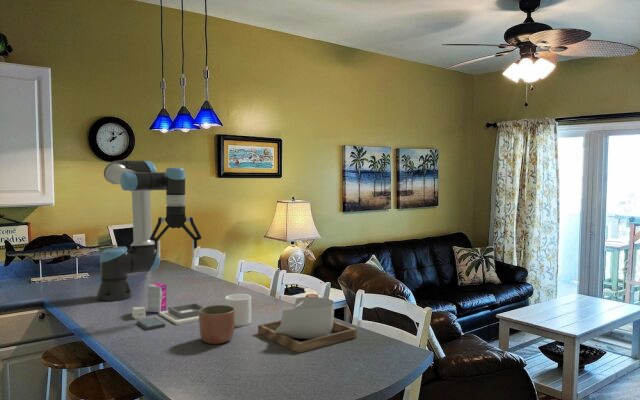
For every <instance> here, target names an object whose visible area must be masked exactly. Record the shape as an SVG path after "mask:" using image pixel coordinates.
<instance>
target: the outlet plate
mask: <svg viewBox="0 0 640 400" xmlns="http://www.w3.org/2000/svg"><path fill="white" fill-rule="evenodd" d="M203 307H205V306H204V305H202V304H200V303H197V302H194V303H188V304H182V305H175V306H171V307H170V306H169V307H168V308H167V309H168V310H165V311H162V312H159V313H158V314H159V316H161V317H163V318H165V319H166V320H168V321H170V322H171V323H173V324H175V325H182V324H187V323H193V322H199V309H201V308H203Z"/></svg>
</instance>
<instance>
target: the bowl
mask: <svg viewBox="0 0 640 400" xmlns="http://www.w3.org/2000/svg"><path fill="white" fill-rule="evenodd" d="M334 316H335V301H334V300H332V299H329V298H324V297H321V296H319V297H318V296H317V297H316V296H303V297H296V299H295V302H294V308H292V309H285V310H283V312H282V316H281V319H280V321H281V324H280V326H279V327H278V328H277V329H276V330H275V333H279V334H283V335H285V336H287V337H290V338H292V339H299V340H300V339H303V340H310V339H314V338H318V337H322V336H326V335H330V334H331V332H332V331H333V330H332V328H333V322H334V321H335V317H334Z"/></svg>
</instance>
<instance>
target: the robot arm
mask: <svg viewBox="0 0 640 400" xmlns="http://www.w3.org/2000/svg"><path fill="white" fill-rule="evenodd" d="M103 177H104V178H105V180H106V181H107V182H109V183H110V184H112V185H120V186H121V189H122V190H123V191H127V192H128V191H130V192H131V205H132V206H131V209H132V231H133V232H132V233H133V234H132V237H133V242H132V243H131V244H130V245H129V246H130V248H129V249H128V247H127V246H125V245H123V246H113V247H108V248H106V249H103V250H102V251H101V252H100V255H99V256H100V257H99V258H100V259H99V262H100V263H99V264H100V283H99V286H98V289H97V293H96V300H98V301H102V302H114V301H115V302H116V301H122V300H127V299H129V298H132V293H133V292H132V289H131V286H130V283H129V281H128V275H129V274H137V273H138V274H139V273H148V272H153V271H156V270H157V269H158V268H159V266H160V263H161V256H162V255H161V240H160V239H161V238H162V237H163V235H164V234H165V233H166V232H167V231H168V229H169V228H170V229H181V228H182V229H183V230H184V231H185V232H186V234H187V235H188V236H189V237H190V238H191V239H193V240H191V258H194V257H195V249H197V248H198V241H200V240H202V235H201V233H200V232H199V229H198V227H197V225H196V224H195V222H194V217H193V216H190V217H187V216H186V206H185V205H186V179H187V178H186V170H185V169H184V168H183V167H167V168H165V172H164V171H163V172H158V170H157V168H156V166H155V164H154V163H153V162H152V161H149V160H124V159H123V160H122V159H121V160H120V159H119V160H114V161H112V162H109V163H108V164H107V165H106V166H105V168H104V170H103ZM151 191H165V200H166V201H165V204H166V205H167V206H166V209H165V212H166V216H165V217H161V216H160V217H158V218H157V223H156V225H155V228H154V230H153V224H152V222H153V221H152V204H151V203H152V202H151V198H152V197H151ZM164 222H165V223H166V224H167V225H166V226H165V227H164V228H163V230H161V232H160V233H159V234H158V231H159V228H160V227H161V225H162V223H164ZM187 222H188V223H190V225H191V228H192V229H193V231H194V233H195V234H194V233H193V232H192V231H191V230H190V229H189V228H188V227H187V225H186V224H185V223H187ZM156 234H158V235H157V236H156Z"/></svg>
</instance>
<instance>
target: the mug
mask: <svg viewBox="0 0 640 400" xmlns="http://www.w3.org/2000/svg"><path fill="white" fill-rule="evenodd" d="M224 300H225V301H224V302H225V303H224V305H227V306H232V307H234V308H235V323H234V328H235V327H246V326H249V325H250V324H251V323H252V295H250V294H247V293H246V294H245V293H234V294H233V293H232V294H228V295H226V296H225V297H224Z"/></svg>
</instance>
